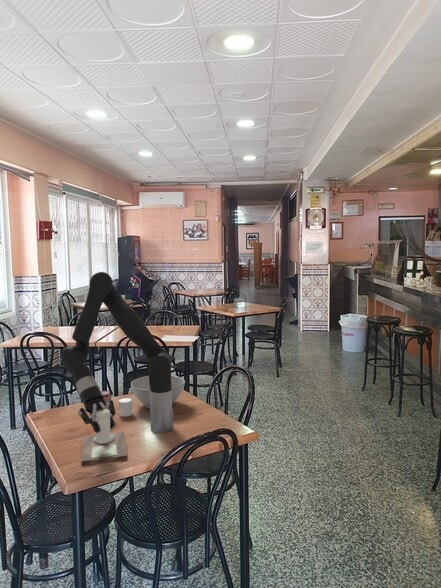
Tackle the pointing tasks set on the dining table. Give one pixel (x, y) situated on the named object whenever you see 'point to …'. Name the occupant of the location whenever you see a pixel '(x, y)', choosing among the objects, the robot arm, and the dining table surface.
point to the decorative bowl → (143, 389)
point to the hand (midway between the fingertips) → (105, 429)
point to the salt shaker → (103, 426)
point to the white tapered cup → (125, 406)
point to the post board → (104, 449)
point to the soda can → (106, 396)
